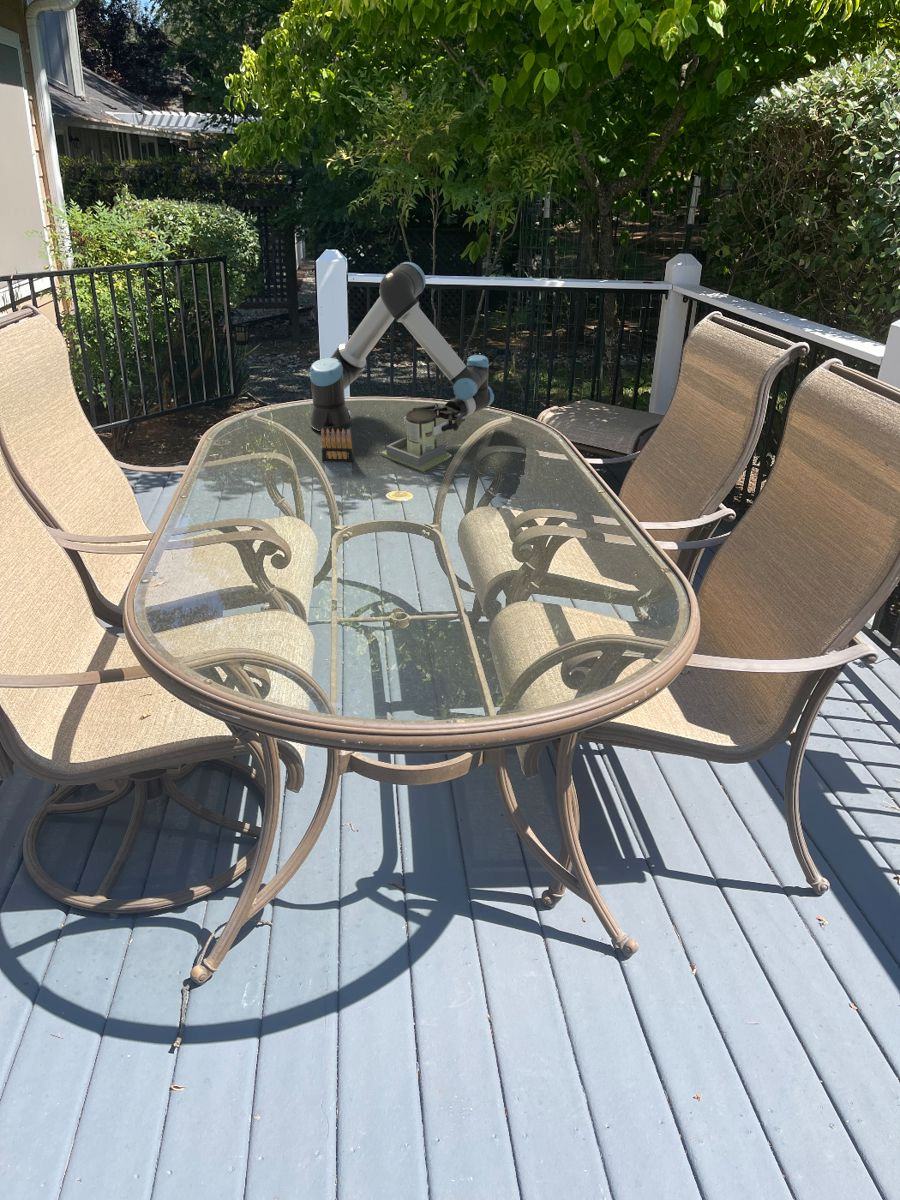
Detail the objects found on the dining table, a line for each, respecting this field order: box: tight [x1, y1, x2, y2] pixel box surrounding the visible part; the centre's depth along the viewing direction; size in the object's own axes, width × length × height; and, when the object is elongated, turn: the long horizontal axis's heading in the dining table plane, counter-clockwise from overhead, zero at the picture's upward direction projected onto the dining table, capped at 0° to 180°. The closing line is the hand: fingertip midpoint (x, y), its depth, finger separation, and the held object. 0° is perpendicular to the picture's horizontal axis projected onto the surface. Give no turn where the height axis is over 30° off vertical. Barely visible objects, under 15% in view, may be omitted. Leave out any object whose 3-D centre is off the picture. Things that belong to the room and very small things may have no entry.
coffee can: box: [405, 409, 438, 456], centre depth 300 cm, size 10×10×14 cm
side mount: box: [379, 435, 449, 473], centre depth 303 cm, size 20×15×4 cm
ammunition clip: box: [320, 428, 355, 463], centre depth 298 cm, size 11×2×12 cm, turn 87°
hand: (419, 426), depth 299 cm, fingers open, 13 cm apart
